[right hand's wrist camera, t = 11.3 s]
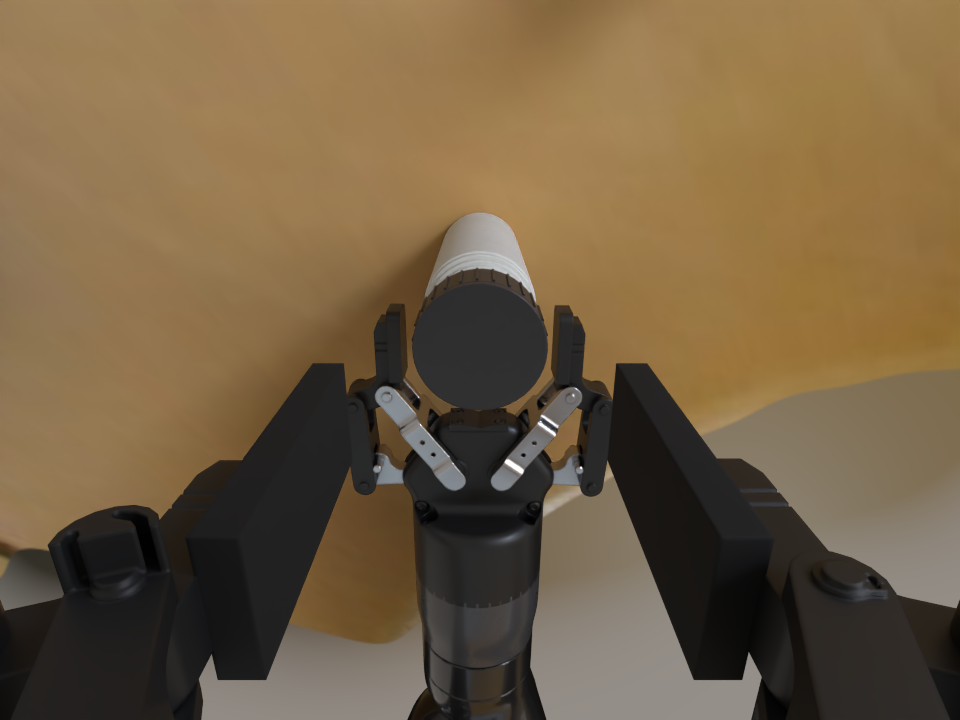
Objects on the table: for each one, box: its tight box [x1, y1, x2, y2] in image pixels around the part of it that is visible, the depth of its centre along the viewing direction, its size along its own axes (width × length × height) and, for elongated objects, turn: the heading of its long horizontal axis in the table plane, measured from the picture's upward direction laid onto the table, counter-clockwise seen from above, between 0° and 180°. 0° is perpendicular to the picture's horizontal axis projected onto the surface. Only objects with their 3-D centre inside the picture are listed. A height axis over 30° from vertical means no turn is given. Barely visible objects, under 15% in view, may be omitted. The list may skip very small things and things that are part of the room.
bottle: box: [424, 213, 536, 302], centre depth 27 cm, size 5×5×17 cm
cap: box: [412, 268, 548, 410], centre depth 20 cm, size 4×5×2 cm
